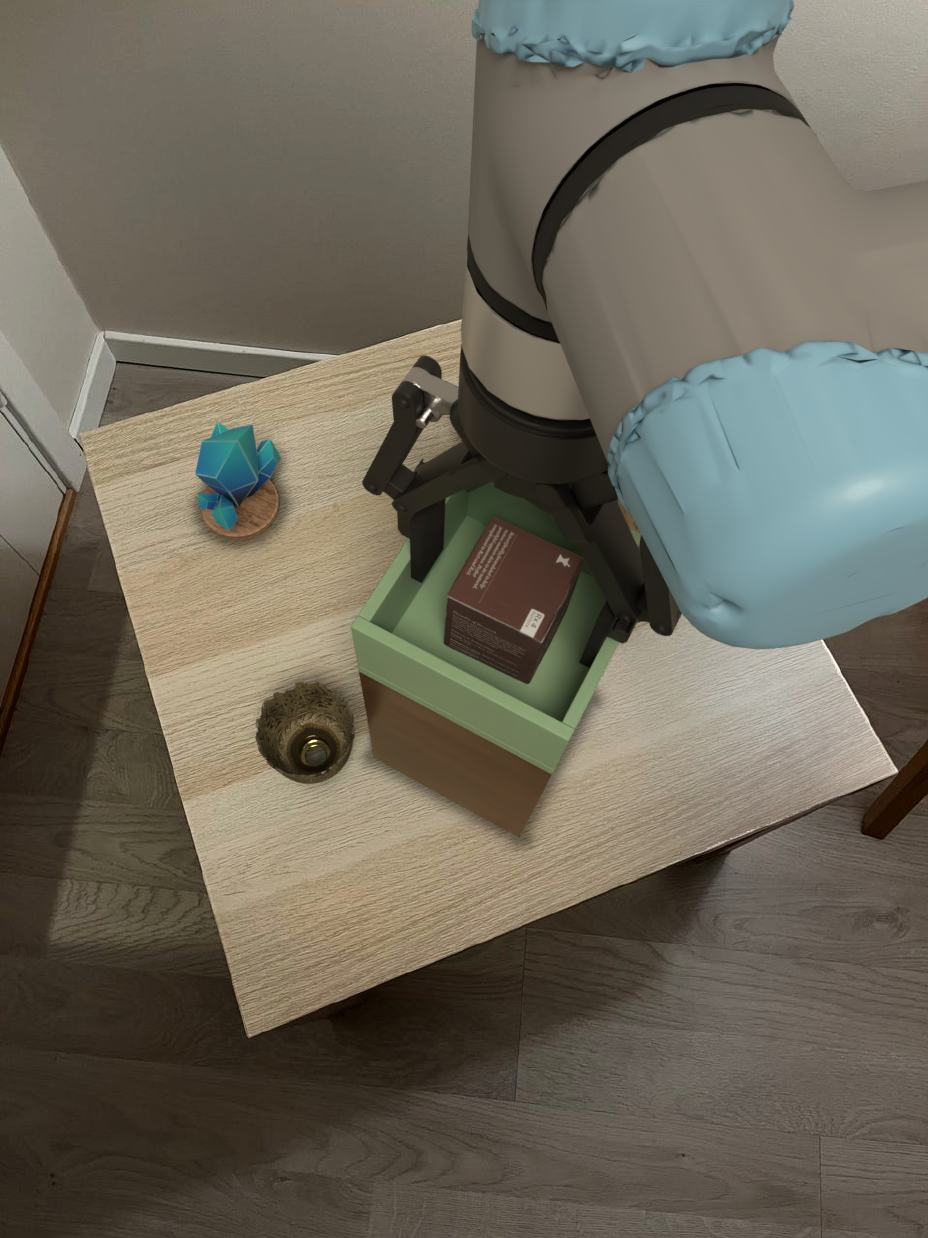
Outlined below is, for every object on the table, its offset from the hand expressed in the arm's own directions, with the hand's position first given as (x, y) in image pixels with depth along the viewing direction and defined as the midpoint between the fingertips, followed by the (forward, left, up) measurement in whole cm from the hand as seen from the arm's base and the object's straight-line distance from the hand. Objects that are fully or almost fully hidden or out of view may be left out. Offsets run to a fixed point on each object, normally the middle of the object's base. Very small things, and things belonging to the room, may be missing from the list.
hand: (509, 604), depth 54 cm
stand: (0, 0, -25) cm, 25 cm away
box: (0, 0, -4) cm, 4 cm away
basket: (0, 0, -5) cm, 5 cm away
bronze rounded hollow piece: (-9, +11, -25) cm, 29 cm away
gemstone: (+8, +30, -25) cm, 40 cm away
